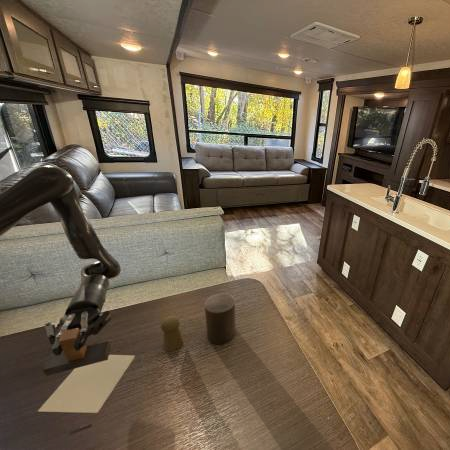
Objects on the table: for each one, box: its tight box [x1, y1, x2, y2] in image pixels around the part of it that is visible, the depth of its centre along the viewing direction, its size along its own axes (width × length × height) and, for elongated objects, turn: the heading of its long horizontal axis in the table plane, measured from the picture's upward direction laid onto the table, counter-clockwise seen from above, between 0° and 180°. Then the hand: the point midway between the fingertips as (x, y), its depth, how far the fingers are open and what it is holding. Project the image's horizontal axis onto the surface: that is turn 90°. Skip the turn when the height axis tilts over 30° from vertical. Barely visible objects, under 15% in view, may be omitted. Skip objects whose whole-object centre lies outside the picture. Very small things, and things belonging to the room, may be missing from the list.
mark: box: [68, 423, 93, 435], centre depth 57 cm, size 4×1×1 cm
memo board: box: [37, 354, 136, 414], centre depth 67 cm, size 14×16×1 cm
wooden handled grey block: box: [42, 328, 111, 377], centre depth 61 cm, size 12×4×10 cm, turn 115°
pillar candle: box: [204, 293, 237, 345], centre depth 84 cm, size 10×10×15 cm
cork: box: [160, 315, 185, 353], centre depth 78 cm, size 6×6×11 cm
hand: (67, 350), depth 57 cm, fingers closed on wooden handled grey block, 3 cm apart
